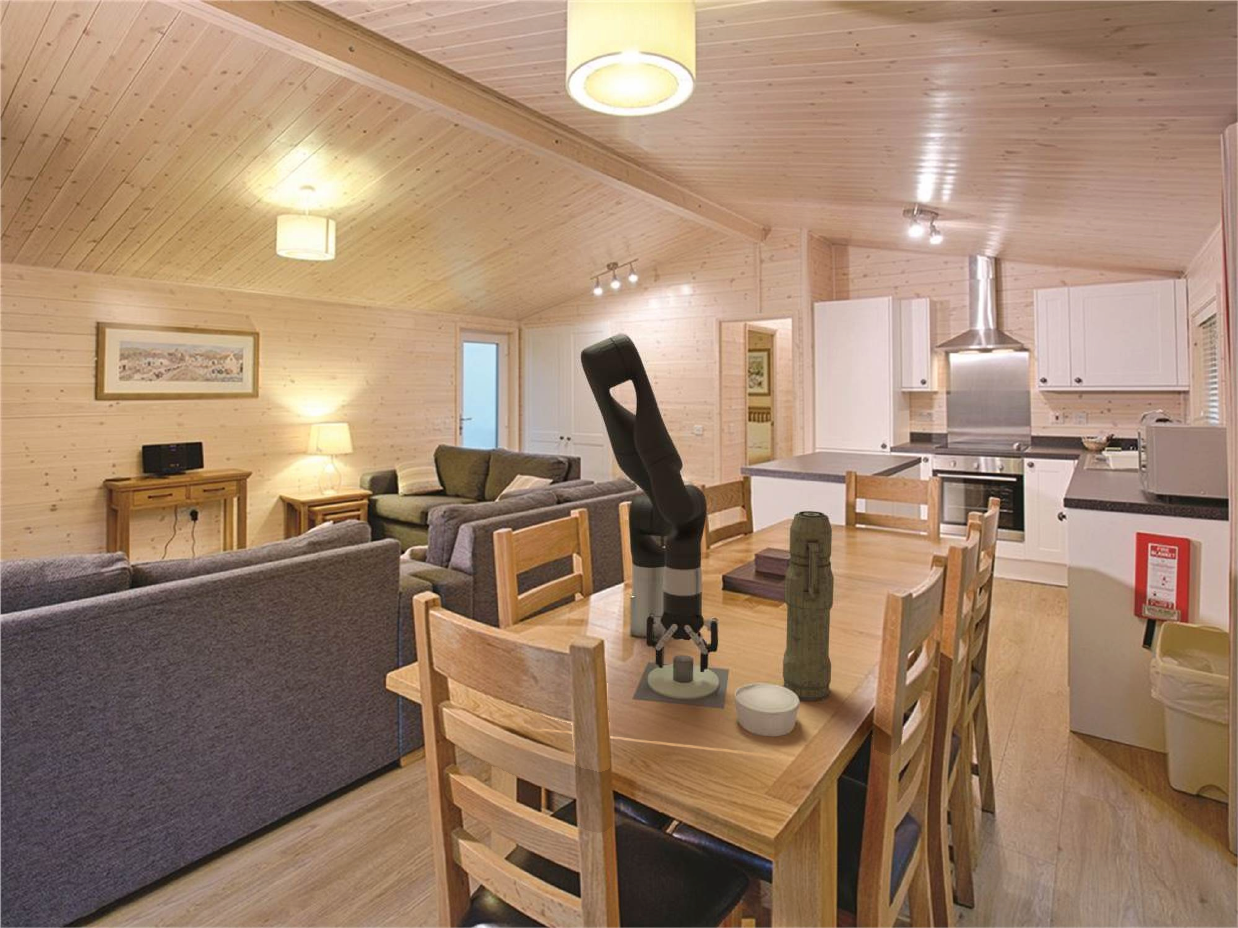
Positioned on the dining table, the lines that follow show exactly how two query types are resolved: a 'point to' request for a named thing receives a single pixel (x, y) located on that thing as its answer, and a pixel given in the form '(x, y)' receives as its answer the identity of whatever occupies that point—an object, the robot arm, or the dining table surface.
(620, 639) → the dining table surface
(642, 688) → the mat
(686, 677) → the lid
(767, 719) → the ramekin
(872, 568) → the dining table surface
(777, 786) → the dining table surface
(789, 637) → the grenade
